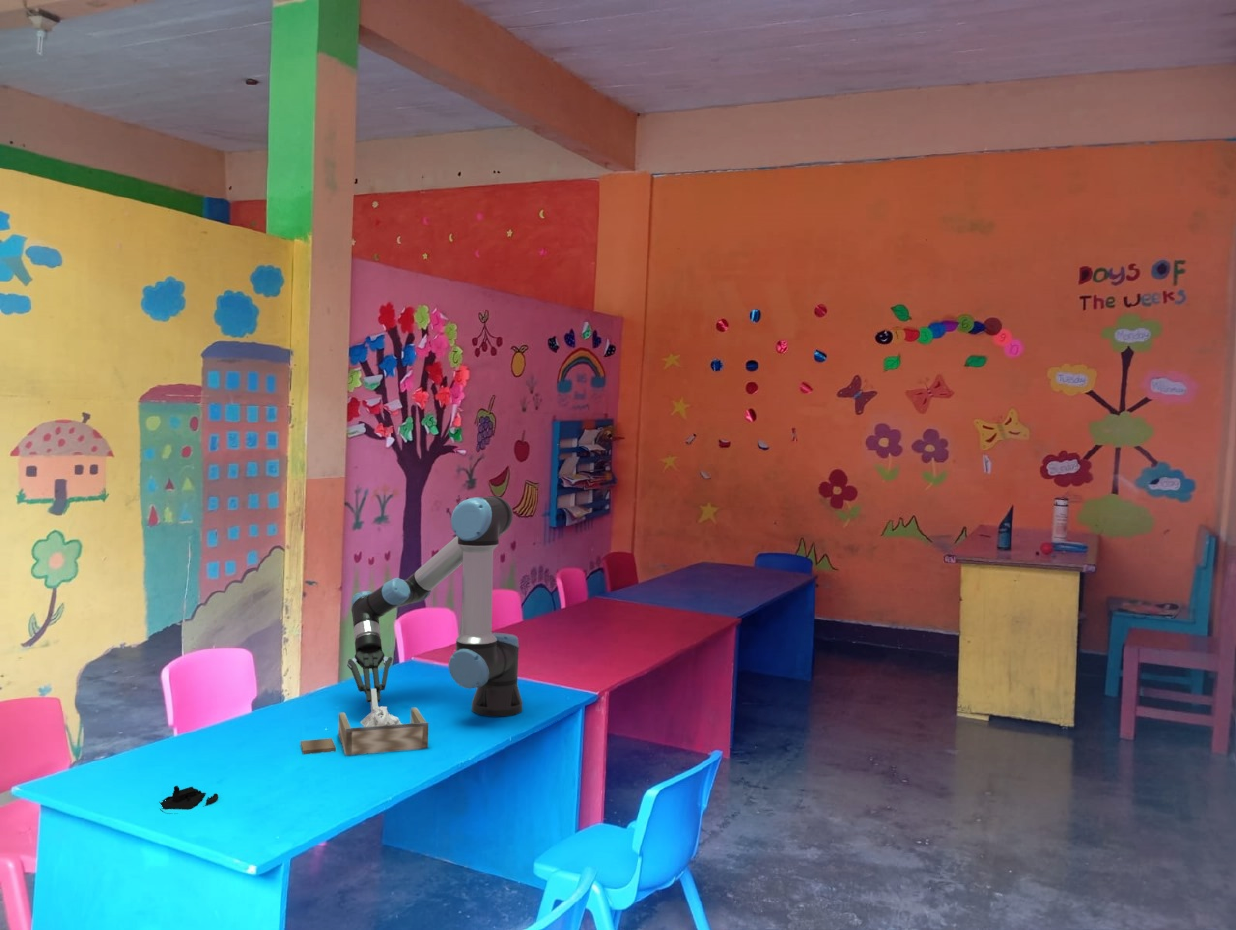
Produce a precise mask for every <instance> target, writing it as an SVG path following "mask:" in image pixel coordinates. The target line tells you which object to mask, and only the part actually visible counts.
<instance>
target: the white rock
mask: <svg viewBox="0 0 1236 930" xmlns="http://www.w3.org/2000/svg"><path fill="white" fill-rule="evenodd" d="M359 722H360V724H361V725H362V727H371V726H384V725H397V724H404V723H402V722H401V721H400V719H399V717H397V716H396V715H395V716H394V715H393V714H390V712H389V711H388V706H383V705H382V706H379V705H378V706H377V707H376V709H375V710H374V711H372V712H371V711H370V713H368V714H367V715H366V716H365V717H364V718H363V719H362V720H361V721H359Z"/></svg>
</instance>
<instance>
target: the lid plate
mask: <svg viewBox="0 0 1236 930" xmlns="http://www.w3.org/2000/svg"><path fill="white" fill-rule="evenodd" d="M300 744H301V745H300V748H301V751H302V754H303V755H309V754H310V753H312V754H321V752H323V753H332V752H331V751H334V752H336V751H337V747H336V745H335V741H334V740H333V738H320V739H308V740H300ZM310 755H311V754H310Z"/></svg>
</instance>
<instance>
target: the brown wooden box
mask: <svg viewBox="0 0 1236 930" xmlns="http://www.w3.org/2000/svg"><path fill="white" fill-rule="evenodd" d="M337 730H338V734H337V735H338V737H340V738H339V740H340V744H341V743H342V744H341V747H342V746H343V747H342V749H343V752H344V755H345V756H354V755H355V754H356V755H366V754H367V753H368V754H376V753H389V752H390V753H391V752H399V751H400V752H402V751H413V750H414V751H415V750H423V749H424V750H426V748H427V749H428V748H429V722H428V721H427V722H426V720H425V718H424V717H423V715H422V714H421V712H420V710H419V709H418V708H417V707H411V709H410V723H403V724H397V725H384V726H371V727H364V726H359V727H351V725H350V723H349V720H348V717H347V715H346V713H345V712H338V729H337Z"/></svg>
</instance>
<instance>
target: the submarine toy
mask: <svg viewBox="0 0 1236 930" xmlns="http://www.w3.org/2000/svg"><path fill="white" fill-rule="evenodd" d="M206 795H207V793H206V792H202V791H201V790H199V789H197V788H194V786H189V787H185V788H183V789H180V788H179V786H178V785H175V786H173V792H172V795H170V796H167V797H165V798H164V799H163V800H161V801H163V802H159V803H160V804H161V805H162V806H161V805H160V806H161V808H159V809H160V811H161V812H162V813H165V814H167V815H171V814H172V813H170V812H169V813H168V812H165V811H166V810H186V811H187V810H190V811H191V810H192V809H194V808H196V807H198V805H199V804H201V803H202V802H203V800H204V798H205V796H206ZM165 800H166V801H165ZM218 801H219V794H218V793H217V792H216V793H214V794H213V795H211V796H210V797H208V796H207V798H206V800H205V805H203V806H202V807H204V808H205V807H206V806H210V805H212V804H215V803H217V802H218ZM162 807H163V808H162ZM176 814H177V815H178V814H179V813H175V815H176Z"/></svg>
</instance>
